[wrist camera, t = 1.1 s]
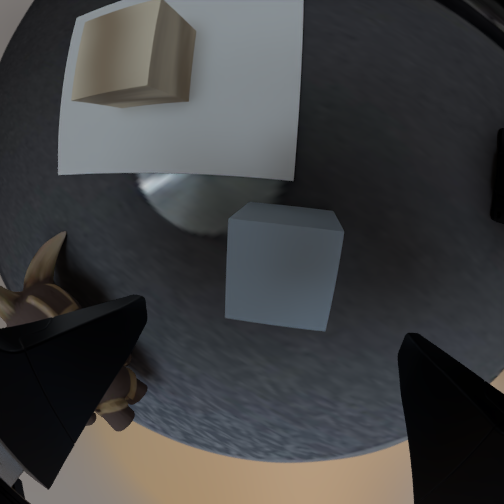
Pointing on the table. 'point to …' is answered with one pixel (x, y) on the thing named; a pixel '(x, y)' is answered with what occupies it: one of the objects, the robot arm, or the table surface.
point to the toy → (60, 302)
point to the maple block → (135, 57)
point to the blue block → (282, 265)
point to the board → (201, 100)
